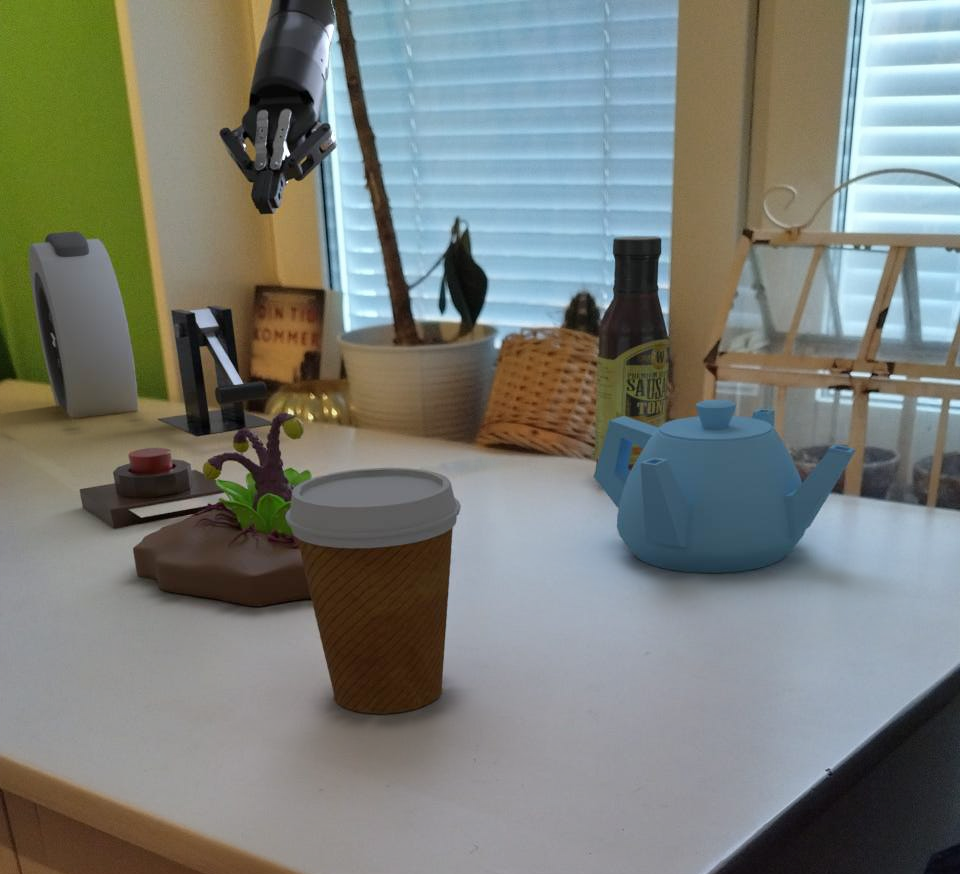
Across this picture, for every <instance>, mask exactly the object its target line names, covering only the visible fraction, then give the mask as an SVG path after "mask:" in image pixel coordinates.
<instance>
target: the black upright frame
mask: <svg viewBox="0 0 960 874" xmlns="http://www.w3.org/2000/svg"><path fill="white" fill-rule="evenodd" d="M206 309H210V311H211V313H212V314H213V316H214V318H215V319H216V321H217V323H218V325H219V334H218V340H219V342H220V344H221V346H222V347H223V349H224V351H225V353H226V354H227V356H228V358H229V359H230V361H231V363H232V365H233V366H234V368H235V370H236V372H237V373H238V375H239V377H240V368H239V362H238V361H239V360H238V354H237V344H236V337H235V336H236V335H235V329H234V321H233V312H232V309H231V308H230V307H224V306H220V305H215V304H214V305H207V306H206ZM170 310H171V311H170V312H171V319H172V320H171V321H172V325H173V333H174V339H175V345H176V354H177V360H178V366H179V367H178V368H179V375H180V381H181V388H182V394H183V395H182V396H183V401H184V408H185V414H181V415H173V416H168V417H166V416H165V417H160V418H157V420H158V421H160V422H162V423H165V424H167V425H170V426H172V427H174V428H177V429H178V430H181V431H183V432H185V433H188V434H190V435H192V436H195V437H202V436H203V437H204V436H210V435H216V434H223V433H228V432H235V431H239V430H241V429H243V428H245V429H246V428H247V429H254V428H261V427H267V426H271V424H272V423H273V422H272V421H271V420H268V419H265V418H263V417H260V416H257V415H255V414H252V413H250V412H246V411H245V410H244V401H242V402H235V403H229V404H222V405H219V407H220V409H214V410H209V405H208V399H207V398H208V397H207V392H206V391H207V390H206V384H205V378H204V377H205V376H204V369H203V361H202V355H201V347H200V346H199V339H198V332H197V324H196V317H195V313H193V312H190V310H189V311H188V310H185V309H179V308H177V309H170ZM213 361H214V369H215V376H216V383H217V387H223V386H229V385H228V383H227V381H226V379H225V378H224V376H223V374H222V372H221V371H220V369H219V367H218V365H217V364H216V362H215V360H214V359H213ZM240 378H241V377H240Z"/></svg>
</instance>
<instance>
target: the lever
mask: <svg viewBox="0 0 960 874" xmlns="http://www.w3.org/2000/svg"><path fill="white" fill-rule="evenodd" d="M189 312H193V313H195V317H196V324H197V332H198V339H199V346H200V348H202V347H206V348H207V350H208V351H209V353H210V355H211V357H212V358H213V361H214V360H215V362H216V364H217V365H218V367H219V369H220V371H221V372H222V374H223V376H224V378H225V379H226V381H227V383H228V385H229V386H223V387H218V386H217V387H215V389H214V397H215V400H216V403H217V404H218V405H219V406H220V405H222V404H229V403H235V402H242V401H243V402H248V401H254V400H262V399H266V398H267V396H268V393H267V392H268V391H267V387H266V384H265V382H264V381H262V380H261V381H253V382H245V383H244V382H243V381H242V379H241V377H239V376H240V374H239V375H238V373H237V372H236V370H235V368H234V366H233V365H232V363H231V361H230V359H229V358H228V356H227V354H226V353H225V351H224V349H223V347H222V346H221V344H220V342H219V340H218V334H219V325H218V323H217V321H216V319H215V318H214V316H213V314H212V313H211V311H210V309H207V308H201V309H192V310H191V309H190V310H189ZM215 362H214V363H215Z"/></svg>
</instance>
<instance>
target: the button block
mask: <svg viewBox="0 0 960 874" xmlns="http://www.w3.org/2000/svg"><path fill="white" fill-rule="evenodd" d="M172 465H173V469H171V470H168V471H164V472H158V473H145V474H138V473H131V467H130V462H129V463H126V464H122V465H120V466H118V467H116V468H115V470H113V471H112V475H113V481H114V482H113V483H107V484H102V485H96V486H89V487H83V488H80V489H79V494H80V501H81V505H82V506H81V507H82V508H83V510H86V511H87V512H88V513H90V514H91V515H93V516H94V517H96V518H97V519H99V520H100V521H102V522H103V523H104V524H106V525H108V526H109V527H110V528H112V529H114V530H116V529H122V528H126V527H133V526H138V525H143V524H148V523H154V522H159V521H164V520H170V519H175V518H181V517H186V516H192V515H194V514H196V513H198V511H199V512H200V511H203V510H204V509H206V508H207V505H203V506H201V507H202V508H204V509H202V508H199V507H200V506H197V507H193V508H187V509H180V510H176V511H169V512H165V513H158V514H154V515H148V516H143V517H142V516H139V515H138V514H136V513H135V512H133V511H132V510H133V509H139V508H145V507H150V506H154V505H155V506H156V505H162V504H166V503H173V502H179V501H184V500H191V499H196V498H201V497H206V496H213V495H217V494H218V495H219V494H225V492H224V491H223V490H222V489H221V488H220V487H218V486H217V485H216V480H217V479H205V475H204V473H203V472H201V471H198V470H197V469H192V465H191V463H189V462H187V461H186V460H182V459H173V458H172ZM215 504H216V503H215ZM215 504H211V505H212V506H215ZM209 506H210V505H209Z"/></svg>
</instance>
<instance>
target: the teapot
mask: <svg viewBox="0 0 960 874" xmlns="http://www.w3.org/2000/svg"><path fill="white" fill-rule="evenodd" d="M695 407H696V411H697V415H698V416H692V417H691V416H690V417H682V418H677V419H672V420H669V421H666V423H664V424H662V425H661V426H660V427H659V428H658V427H655V426H652V425H649V424H646V423H643V422H640V421H637V420H635V419H632V418H629V417H626V416H622V417H619V418H616V419H613V420H610V422H609V425H608V429H607V432H606V436H605V439H604V443H603V446H602V449H601V453H600V456H599V460H598V463H597V462H596V464H597V467H596V466H595V470H594V474H593V478H594V479H595V481H596V482H597V484H598V485H599V486H600V487H601V489H602V490H603V491H604V492H605V493H606V495H607V496H608V497H609V499H610V500H611V501H612V502H613V504H614V505H615V506H616V507H617V509H618V510H617V515H616V529H617V532H618V535H619V537H620V538H621V539H622V541H623V542H624V544H625V545H626V546H627V547H628V549H629V550H630V551H631V552H632V553H633V554H634V556H635V557H636V558H637V559H639V560H640V561H642V562H644V563H646V564H648V565H652V566H654V567H657V568H662V569H665V570H671V571H676V572H677V571H678V572H685V573H697V574H698V573H700V574H702V573H703V574H721V573H722V574H724V573H726V574H727V573H738V572H745V571H750V570H756V569H761V568H765V567H768V566H771V565H774V564H775V563H777V562H779V561H781V560H782V559H783V558H784V557H786V556H787V555H788V553H790V552H791V551H792V550H793V548H795V547H796V545H797V544H798V543H799V542H800V540H801V539H803V536H804V535H805V533H806V530H807V529H808V528H810V527H811V525H812V524H813V522H814V521H815V518H816V517H817V516H818V514H819V512H820V511H821V509H822V507H823V505H824V504H825V503H826V501H827V499H828V497H829V496H830V494H831V493H832V491H833V489H834V487H835V486H836V484H837V483H838V481H839V479H840V477H841V476H842V475H843V472H844V471H845V470H846V468H847V466H848V464H849V463H850V461H851V460H852V458H853V456H854V455H855V453H856V448H855V447H850V446H846V445H845V446H844V445H840V444H832V445H831V446H829V447H828V448H827V452H826V453H825V454H824V456H823V457H822V458H821V460H819V462H818V463H817V464H816V465H815V467H814V468H813V469H812V471H811V472H810V473H809V474H808V475H807V476H806V478H805V479H804V481H803V482H802V479H801V475H800V473H799V471H798V468H797V467H796V464H795V462H794V460H793V457H792V456H791V454H790V452H789V450H788V448H787V446H786V445H785V443H784V441H783V438H781V436H780V435H779V433H778V431H777V430H776V428H775V416H776V415H775V413H776V409H769V408H759V409H756V410H754V411H752V416H751V417H747V416H735V415H734V413H735V411H736V407H737V403H736V402H735V401H733V400H730V399H718V398H717V399H716V398H715V399H714V398H713V399H705V400H701V401H700V402H697V403H696V404H695ZM633 443H634V444H636V445H638V446H640V447H642V448H644V449H643V450H642V452H641V454H640V455H639V457H638V459H637V460H636V462H635V464H634V466H633V468H632V470H631V471H630V470H629V469H628V465H629V460H630V455H631V450H632V445H633Z"/></svg>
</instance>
